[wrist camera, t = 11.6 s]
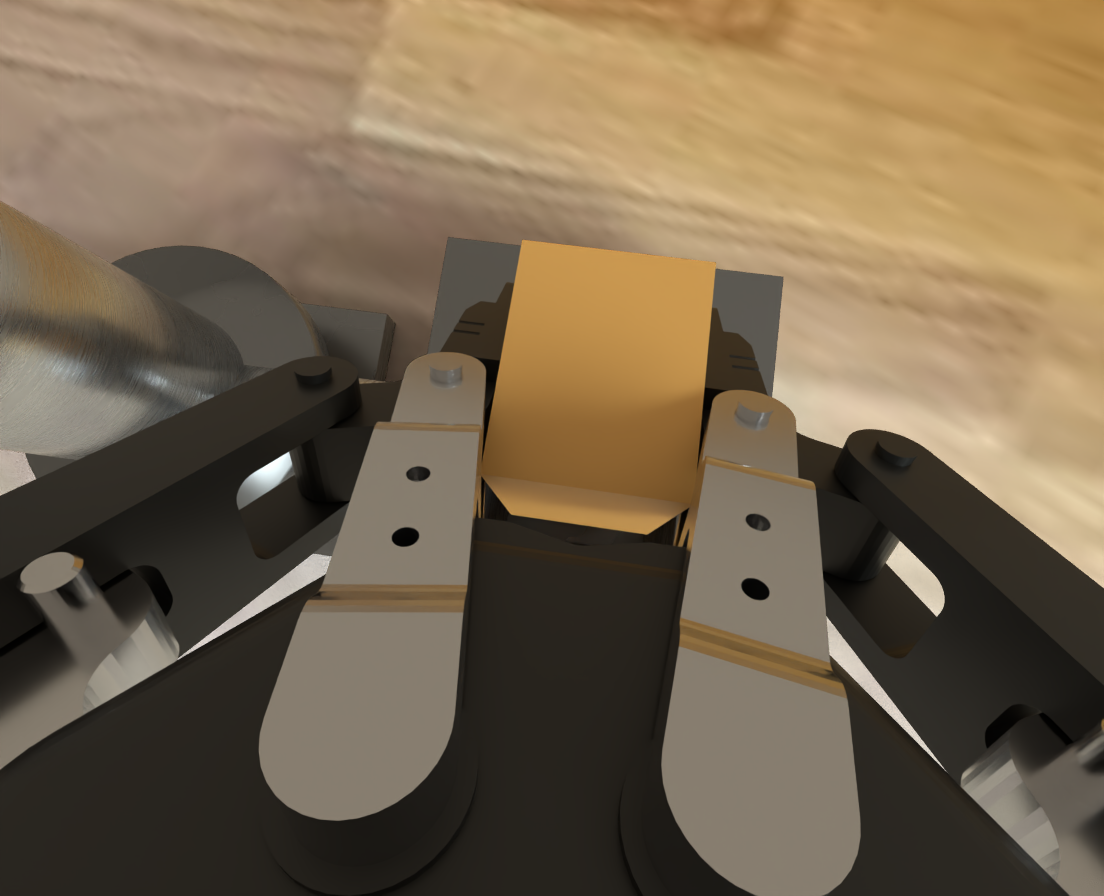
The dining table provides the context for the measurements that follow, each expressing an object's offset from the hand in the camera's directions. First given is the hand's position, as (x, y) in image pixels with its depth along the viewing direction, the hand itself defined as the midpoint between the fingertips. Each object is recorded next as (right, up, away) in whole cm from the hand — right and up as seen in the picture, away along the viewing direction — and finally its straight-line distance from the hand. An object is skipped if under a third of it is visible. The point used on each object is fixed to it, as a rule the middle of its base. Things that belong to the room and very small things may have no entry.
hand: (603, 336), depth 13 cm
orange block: (0, -3, +4) cm, 5 cm away
